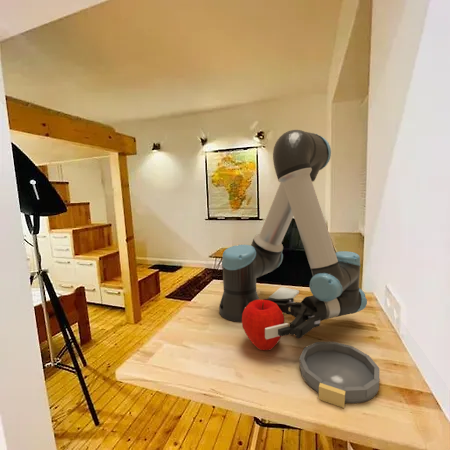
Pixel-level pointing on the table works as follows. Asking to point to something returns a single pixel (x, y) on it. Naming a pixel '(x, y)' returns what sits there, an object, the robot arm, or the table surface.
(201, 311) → the table surface
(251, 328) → the apple
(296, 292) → the hard drive
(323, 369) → the dish
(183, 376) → the table surface
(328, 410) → the table surface
